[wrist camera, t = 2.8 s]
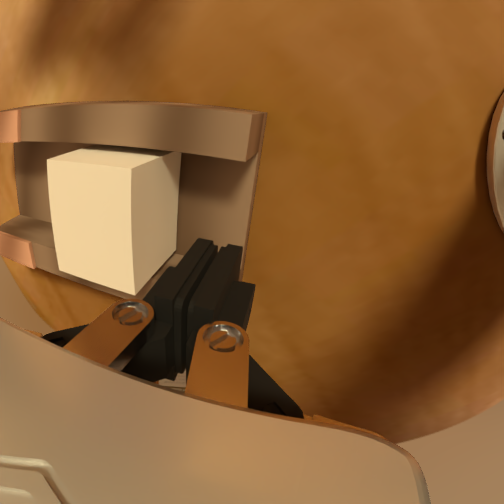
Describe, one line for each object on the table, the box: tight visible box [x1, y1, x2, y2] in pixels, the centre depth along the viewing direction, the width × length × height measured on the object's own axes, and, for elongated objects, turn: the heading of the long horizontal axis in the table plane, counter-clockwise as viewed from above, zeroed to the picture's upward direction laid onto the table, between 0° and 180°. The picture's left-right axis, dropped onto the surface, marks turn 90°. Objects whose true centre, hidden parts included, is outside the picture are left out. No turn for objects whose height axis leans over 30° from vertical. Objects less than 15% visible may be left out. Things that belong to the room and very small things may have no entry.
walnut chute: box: [0, 101, 267, 300], centre depth 17 cm, size 19×11×4 cm, turn 82°
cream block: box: [47, 144, 182, 295], centre depth 15 cm, size 5×6×5 cm
